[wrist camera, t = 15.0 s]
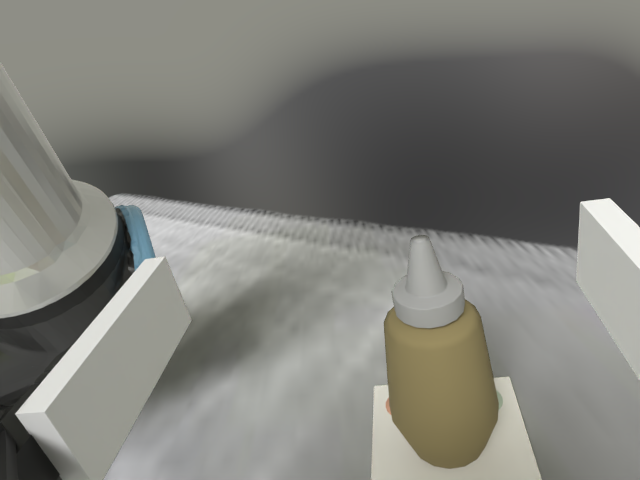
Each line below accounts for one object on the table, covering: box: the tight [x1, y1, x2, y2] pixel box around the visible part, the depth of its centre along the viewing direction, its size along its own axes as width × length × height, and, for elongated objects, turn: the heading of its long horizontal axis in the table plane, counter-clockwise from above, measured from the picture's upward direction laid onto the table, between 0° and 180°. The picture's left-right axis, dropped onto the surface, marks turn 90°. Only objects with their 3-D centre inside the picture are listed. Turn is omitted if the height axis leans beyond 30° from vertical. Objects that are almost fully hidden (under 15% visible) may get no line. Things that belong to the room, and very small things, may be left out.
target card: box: [371, 377, 542, 480], centre depth 37 cm, size 12×12×1 cm
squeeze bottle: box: [384, 235, 499, 469], centre depth 33 cm, size 8×8×18 cm
